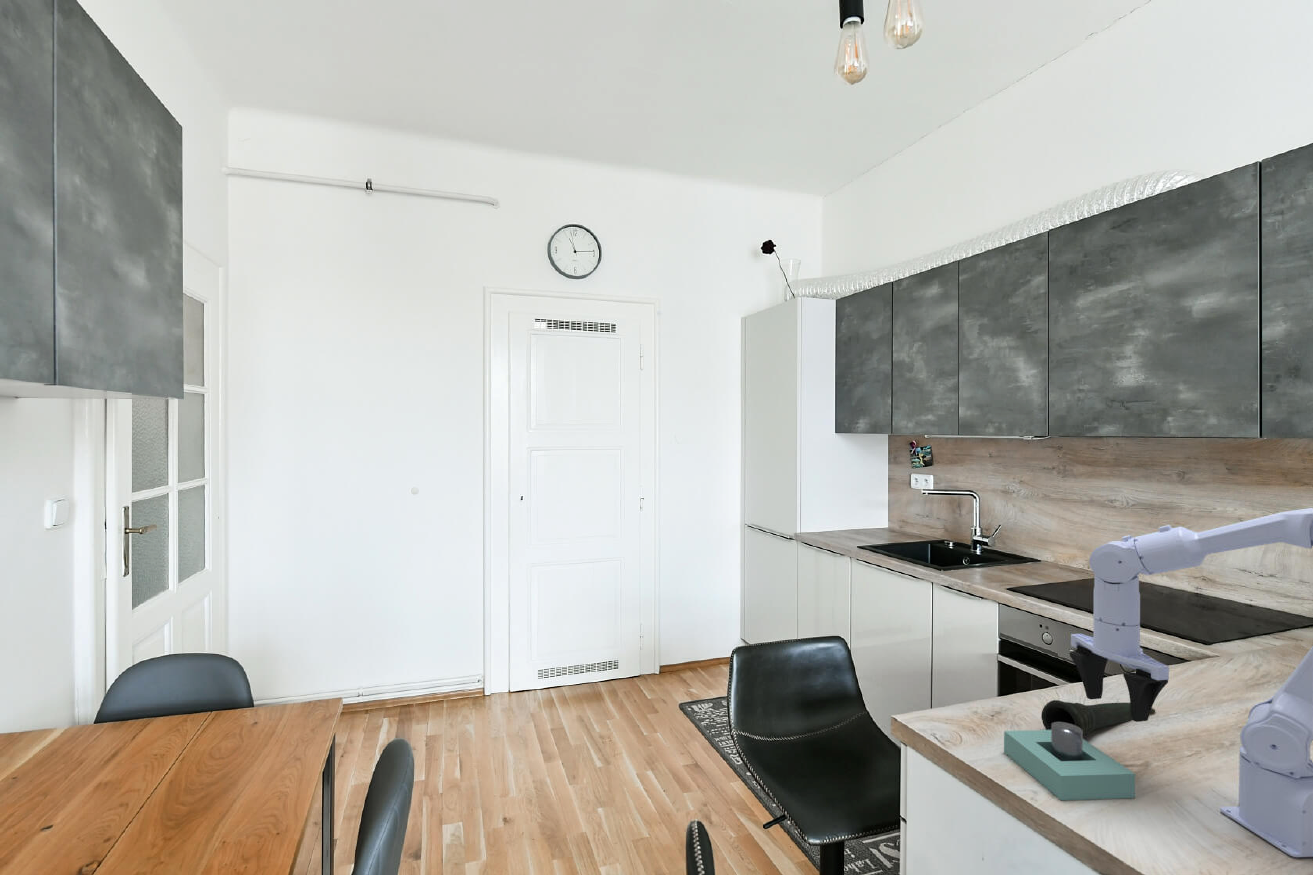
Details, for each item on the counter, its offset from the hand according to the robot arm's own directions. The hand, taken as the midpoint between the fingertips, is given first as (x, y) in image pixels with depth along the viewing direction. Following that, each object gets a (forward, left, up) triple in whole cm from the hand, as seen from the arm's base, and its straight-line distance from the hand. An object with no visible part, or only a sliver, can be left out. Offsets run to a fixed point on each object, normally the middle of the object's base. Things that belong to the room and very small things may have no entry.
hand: (1116, 708), depth 94 cm
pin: (0, +8, -10) cm, 13 cm away
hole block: (0, +8, -10) cm, 13 cm away
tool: (+16, -10, -10) cm, 22 cm away
